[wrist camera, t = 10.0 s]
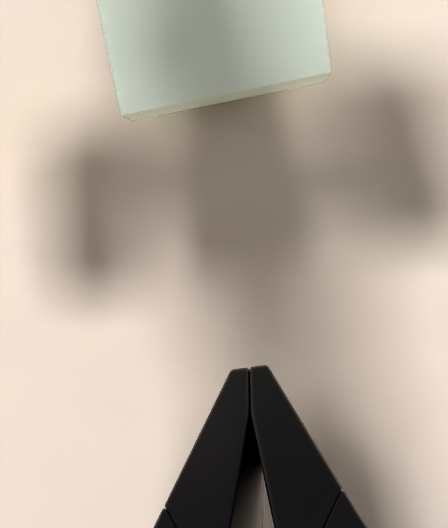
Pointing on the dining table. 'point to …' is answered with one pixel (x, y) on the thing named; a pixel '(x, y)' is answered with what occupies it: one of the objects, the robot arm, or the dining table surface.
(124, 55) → the end tile
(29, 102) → the dining table surface
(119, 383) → the dining table surface
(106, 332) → the dining table surface
